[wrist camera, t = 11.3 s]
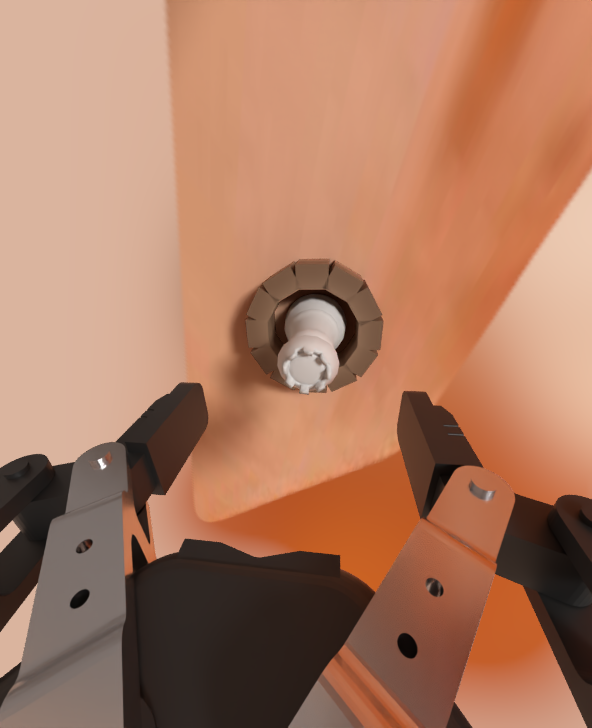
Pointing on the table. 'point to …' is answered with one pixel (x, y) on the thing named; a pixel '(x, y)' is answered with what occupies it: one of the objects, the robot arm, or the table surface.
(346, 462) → the table surface
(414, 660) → the robot arm
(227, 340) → the table surface
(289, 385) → the rook chess piece
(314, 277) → the walnut ring bead
